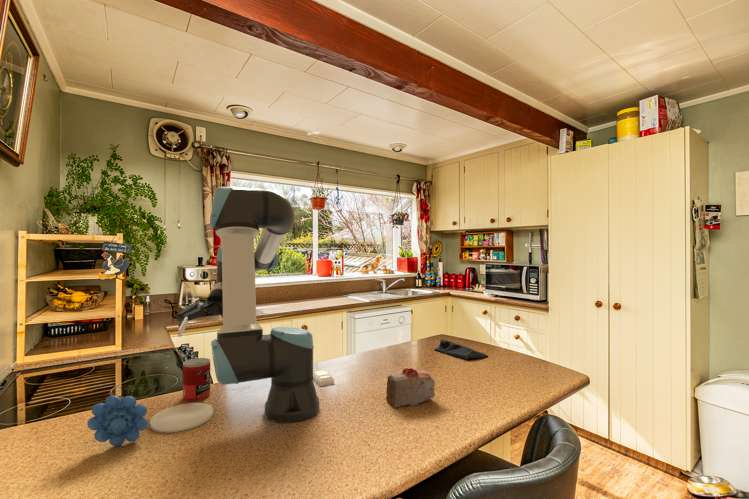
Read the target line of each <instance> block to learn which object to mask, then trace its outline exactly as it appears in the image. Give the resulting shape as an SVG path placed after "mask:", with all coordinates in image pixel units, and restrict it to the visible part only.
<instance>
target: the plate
mask: <svg viewBox="0 0 749 499" xmlns="http://www.w3.org/2000/svg"><path fill="white" fill-rule="evenodd" d="M213 415H214V408H213V406H212V405H211V404H209V403H204V402H187V403H181V404H175V405H173V406H170V407H167V408H165V409H162V410H160V411H158V412H156V413H155V414H154V415H153V416H152V417H151V418H150V419H149V421H150V422H149V427H150V429H151V430H152V431H154V432H157V433H165V434H167V433H179V432H183V431H187V430H191V429H194V428H197V427H199V426H202V425H204V424H206V423H207V422H208V421H210V420H211V419H212V418H213Z"/></svg>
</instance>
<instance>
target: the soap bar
mask: <svg viewBox="0 0 749 499" xmlns="http://www.w3.org/2000/svg"><path fill="white" fill-rule="evenodd" d="M313 382H315V383H317V384H318V386H320V387H324V386H328V385H329V386H330V385H334V384H335V379H334V378H333V376H331V375H330V374H329V373H328V372H327V370H326V371H325V370H319V371H313Z"/></svg>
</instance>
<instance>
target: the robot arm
mask: <svg viewBox="0 0 749 499" xmlns="http://www.w3.org/2000/svg"><path fill="white" fill-rule="evenodd" d="M213 193H214V194H213V200H212V206H211V207H212V208H211V215H210V222H209V226H210V227H211V228H213V229H214V228H215V235H217V237H219V238H220V240H221V245H219V247H218V248H217V255H216V277H215V278H216V281H215V283H214V285H213V286H212V289H211V290H210V292H209V294H208V296H207V298H206V300H205V301H203V302H202V301H200V300H199V299H196V300H195V301H194V302H193V303H191V304H190V305H189V306H187V307H185V308H184V309H182V310H180V311H178V312H177V313H176V321H178V332H177V334H178V335H177V336H178V337H179V338H181V337H182V335H183V333H184V332H185V329H186V328H187V326H188V324H189V322H190V321H192V320H194V319H196V318H199V317H201V316H203V317H204V316H206V315H215V316H219V315H220V316H221V318H222V326H221V327H220V329H219V330H218V331H217V332H216V338H214V339H213V340H211V342H210V345H211V352H212V353H211V354H212V360H213V361H212V362H213V367H214V373H215V376H216V377H215V378H216V381H217V383H219V384H220V385H223V386H225V385H226V386H227V385H232V384H234V385H235V384H236V385H238V384H240V383H246V382H253V381H259V380H265V379H271V380H270V382H271V383H270V387H269V391H268V395H267V399H266V400H265V404H264V416H265V418H266V419H268V420H270V421H272V422H275V423H296V422H302V421H305V420H307V419H310V418H312V417H314V416H315V415H316V414H317V413H319V410H320V399H319V396H318V394H317V390H316V386H315V383H314V380H313V373H314V348H315V347H314V339H313V334H312V333H311V331H309V330H307V329H305V328H300V327H293V326H277V327H276V326H275V327H272V329H271V330H270V332H269V334H263V333H264V330H263V327H262V326H261V325H260V324H259V323H258V322H257V300H256V299H257V297H256V296H257V294H256V293H257V292H256V271H264V270H265V271H270V270H276V269H277V268H278V264H279V253H278V250H279V248H280V246H281V244H282V242H283V240H284V238H285V236H286V235H287V234H288V233H289V232H291V230H292V228H293V226H294V224H295V218H296V217H295V216H296V215H295V211H294V208H293V206H292V204H291V203H290V201H289V200H288V199H287V198H286V197H285V195H283V194H282V193H280V192H278V191H276V190H273V189H267V188H266V189H265V188H251V187H240V186H239V187H236V186H233V185H232V186H219V187H217V188H216V189H215V190H214V192H213ZM260 229H262V230H261V233H260ZM259 234H260V236H259V238H258V240H257V244H256V247H255V242H254V241H255V238H256V237H257V236H258V235H259Z"/></svg>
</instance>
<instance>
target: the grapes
mask: <svg viewBox="0 0 749 499" xmlns="http://www.w3.org/2000/svg"><path fill="white" fill-rule="evenodd" d="M147 412H148V409H147V407H146V406H145V405H144V404H137V399H136V398H135V397H134V396H132V395H126V396H124V397H123V398H120V397H119V396H118V395H116V394H115V395H113V394H111V395H110V396H108V397H106V399H105V401H104V403H102V402H101V403H98V402H97V403H96V404H94V405H93V406H92V408H91V414H92V415H93V416H92V417H90V418H89V419H88V421H87V427H88V429H89V430H91V431H95V432H94V434H93V436H94V440H96V441H97V442H99V443H105V442H106V441H108V442H109V444H110V445H111V446H113V447H120V446H122V445H123V444H124V443H125V441H128V442H130V443H131V442H133V443H134V442H135V441H137V440H138V439H139V438H140V431H144V430H145V429H147V428H148V426H149V420H148V419H147V418H146V417H145V416H146V415H147Z"/></svg>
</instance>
